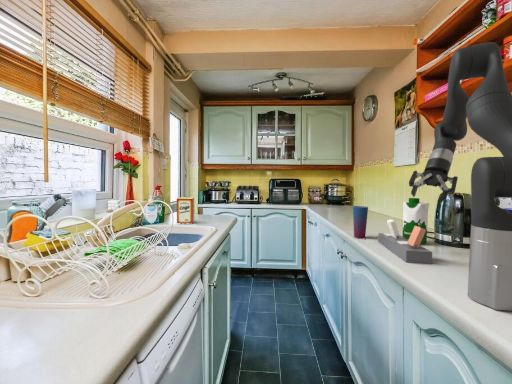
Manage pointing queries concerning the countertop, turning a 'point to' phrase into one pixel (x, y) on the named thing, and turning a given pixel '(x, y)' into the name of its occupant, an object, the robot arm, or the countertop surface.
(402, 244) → the power strip
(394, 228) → the rocker offwhite
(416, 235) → the rocker terracotta
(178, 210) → the baking soda box
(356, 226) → the cup
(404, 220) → the milk carton
